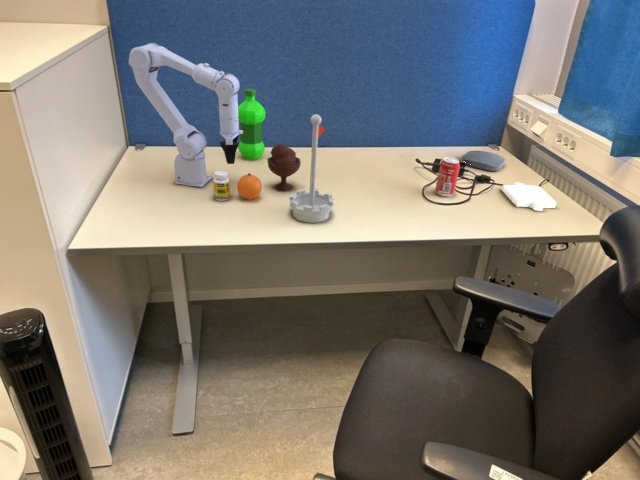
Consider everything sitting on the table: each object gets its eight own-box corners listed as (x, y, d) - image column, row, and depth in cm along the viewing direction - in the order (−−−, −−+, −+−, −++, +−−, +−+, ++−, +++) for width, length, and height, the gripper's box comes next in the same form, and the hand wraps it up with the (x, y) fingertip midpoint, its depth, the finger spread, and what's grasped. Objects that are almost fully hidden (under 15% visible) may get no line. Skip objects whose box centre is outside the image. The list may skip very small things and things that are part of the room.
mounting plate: (499, 187, 167) (500, 182, 166) (534, 188, 168) (535, 183, 167) (519, 210, 152) (521, 204, 151) (558, 211, 152) (560, 206, 151)
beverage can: (455, 192, 161) (462, 159, 155) (451, 198, 156) (459, 165, 150) (437, 188, 163) (443, 155, 157) (432, 194, 158) (439, 161, 152)
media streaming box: (496, 173, 178) (498, 166, 177) (459, 164, 185) (461, 157, 183) (505, 162, 189) (507, 155, 188) (470, 154, 196) (471, 147, 194)
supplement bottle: (217, 202, 144) (215, 176, 140) (212, 196, 148) (210, 171, 143) (232, 199, 146) (231, 174, 142) (227, 193, 150) (226, 169, 145)
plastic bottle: (232, 155, 179) (229, 88, 166) (255, 150, 185) (254, 85, 172) (247, 164, 172) (246, 94, 160) (270, 158, 179) (270, 91, 166)
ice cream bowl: (295, 196, 151) (297, 151, 143) (262, 191, 153) (262, 147, 145) (303, 183, 160) (305, 140, 152) (272, 179, 162) (272, 136, 154)
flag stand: (317, 228, 133) (324, 124, 118) (280, 215, 139) (282, 114, 124) (340, 212, 143) (349, 114, 128) (304, 200, 148) (309, 105, 133)
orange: (234, 200, 145) (233, 176, 141) (242, 191, 152) (241, 167, 148) (257, 204, 144) (257, 180, 140) (264, 194, 151) (264, 170, 147)
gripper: (242, 124, 138) (243, 167, 144) (242, 110, 150) (244, 151, 157) (217, 123, 137) (220, 167, 144) (220, 110, 149) (222, 151, 156)
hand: (231, 159), depth 150 cm, fingers open, 7 cm apart
